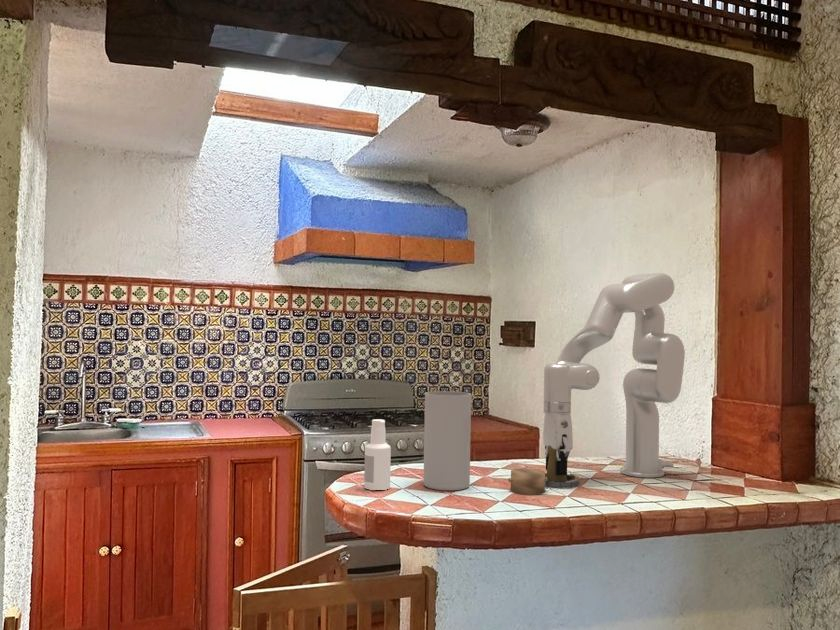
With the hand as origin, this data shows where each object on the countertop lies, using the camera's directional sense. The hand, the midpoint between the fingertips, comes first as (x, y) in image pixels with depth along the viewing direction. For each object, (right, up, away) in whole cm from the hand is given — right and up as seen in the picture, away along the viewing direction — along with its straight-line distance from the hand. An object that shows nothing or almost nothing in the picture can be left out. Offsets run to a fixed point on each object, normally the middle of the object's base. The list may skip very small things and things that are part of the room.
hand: (556, 472), depth 192 cm
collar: (0, -3, 0) cm, 3 cm away
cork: (0, -3, 0) cm, 3 cm away
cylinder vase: (-31, -3, -6) cm, 32 cm away
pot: (-10, -3, -10) cm, 14 cm away
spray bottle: (-49, -2, -11) cm, 51 cm away
